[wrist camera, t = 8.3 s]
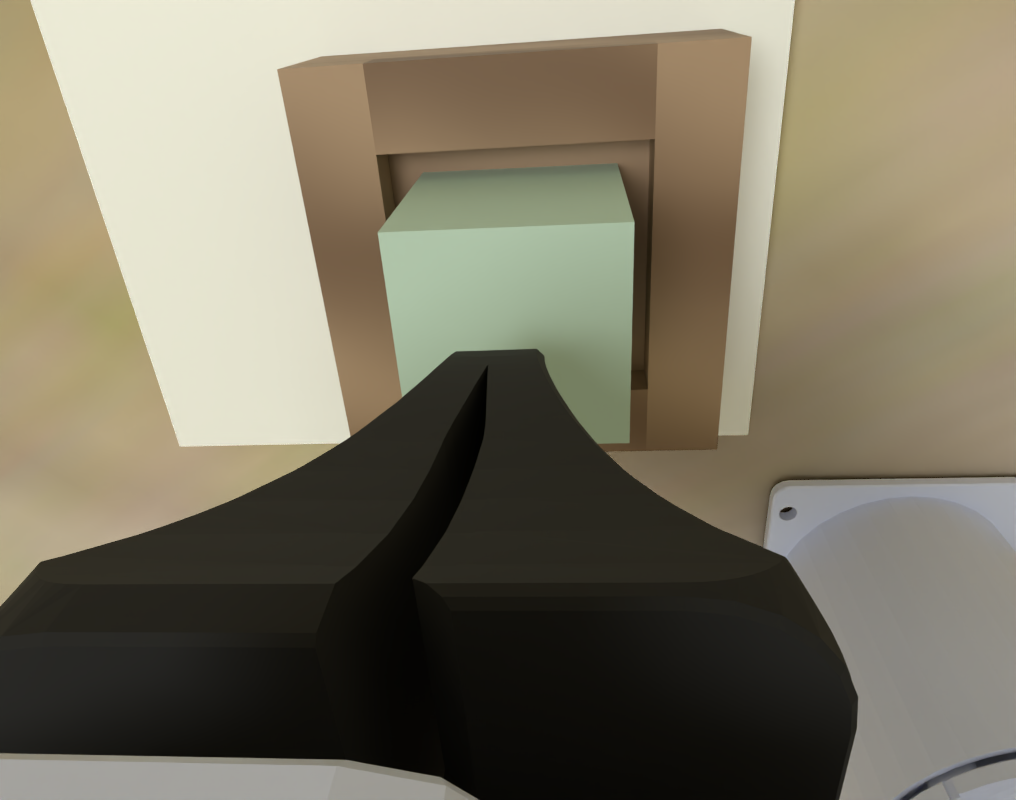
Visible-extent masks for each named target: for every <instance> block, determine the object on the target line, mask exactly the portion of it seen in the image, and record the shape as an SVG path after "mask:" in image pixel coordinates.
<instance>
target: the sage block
mask: <svg viewBox="0 0 1016 800" xmlns="http://www.w3.org/2000/svg"><path fill="white" fill-rule="evenodd" d="M634 224H635V222H634V218H633V215H632V212H631V208H630V205H629V201H628V198H627V195H626V191H625V188H624V184H623V181H622V178H621V174H620V171H619V167H618V164H617V163H610V164H589V165H568V166H547V167H526V168H505V169H484V170H464V171H443V172H423V173H422V175H421V176H420V177H419V179H418V180H417V181H416V183H415V184H414V185H413V186H412V188H411V189H410V190H409V192H408V193H407V194H406V196H405V197H404V198H403V200H402V201H401V202H400V204H399V205H398V206H397V208H396V209H395V210H394V212H393V213H392V214H391V215H390V217H389V218H388V219H387V221H386V222H385V223H384V225H383V226H382V227H381V229H380V230H379V231H378V238H379V245H380V252H381V259H382V265H383V272H384V279H385V286H386V292H387V299H388V306H389V312H390V319H391V326H392V333H393V339H394V346H395V353H396V359H397V366H398V373H399V380H400V386H401V393H402V397H403V396H404V395H406V394H407V393H408V392H409V391H410V390H411V389H413V388H414V387H415V386H416V385H417V384H418V383H419V382H421V381H422V380H423V379H424V378H425V377H426V376H427V375H429V374H430V373H431V372H432V371H433V370H434V369H435V368H436V367H437V366H439V365H440V364H441V363H442V362H443V361H444V360H445V359H446V358H448V357H449V356H450V355H451V354H453V353H454V352H455V351H483V350H515V349H538V350H539V351H540V352H541V353H542V354H543V355H544V356H545V364H546V367H547V370H548V372H549V375H550V377H551V379H552V381H553V383H554V385H555V386H556V388H557V390H558V392H559V393H560V395H561V396H562V398H563V400H564V401H565V403H566V404H567V406H568V407H569V409H570V410H571V412H572V413H573V415H574V416H575V417H576V419H577V420H578V421H579V423H580V424H581V425H582V426H583V427H584V429H585V430H586V431H587V432H588V434H589V435H590V436H591V437H592V438H593V440H594V441H595V442H596V443H597V444H608V443H629V441H630V397H631V354H632V311H633V267H634Z"/></svg>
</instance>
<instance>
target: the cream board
mask: <svg viewBox="0 0 1016 800" xmlns="http://www.w3.org/2000/svg"><path fill="white" fill-rule="evenodd" d="M31 3H32V6H33V9H34V12H35V15H36V18H37V21H38V24H39V27H40V30H41V33H42V36H43V39H44V42H45V45H46V48H47V51H48V54H49V57H50V60H51V63H52V66H53V69H54V72H55V75H56V78H57V81H58V84H59V87H60V90H61V93H62V96H63V99H64V102H65V105H66V108H67V111H68V114H69V117H70V120H71V123H72V126H73V129H74V132H75V135H76V138H77V141H78V144H79V147H80V150H81V153H82V156H83V159H84V162H85V165H86V168H87V171H88V174H89V177H90V180H91V183H92V186H93V189H94V192H95V195H96V198H97V200H98V203H99V206H100V209H101V212H102V215H103V218H104V221H105V224H106V227H107V230H108V233H109V236H110V239H111V242H112V245H113V248H114V251H115V254H116V257H117V260H118V263H119V266H120V269H121V272H122V275H123V278H124V281H125V284H126V287H127V290H128V293H129V296H130V299H131V302H132V305H133V308H134V311H135V314H136V317H137V320H138V323H139V326H140V329H141V332H142V335H143V338H144V341H145V344H146V347H147V350H148V353H149V356H150V359H151V362H152V365H153V368H154V371H155V374H156V377H157V380H158V383H159V386H160V389H161V392H162V395H163V398H164V400H165V403H166V406H167V409H168V412H169V415H170V418H171V421H172V424H173V427H174V430H175V433H176V436H177V439H178V442H179V445H180V447H181V446H230V445H279V444H329V443H342V442H343V441H345V440H346V439H348V438H349V437H351V436H350V431H349V426H348V421H347V416H346V411H345V406H344V401H343V396H342V391H341V387H340V382H339V377H338V372H337V367H336V362H335V357H334V352H333V347H332V342H331V337H330V332H329V327H328V322H327V317H326V312H325V307H324V302H323V297H322V292H321V287H320V282H319V277H318V272H317V267H316V262H315V257H314V252H313V247H312V242H311V237H310V232H309V227H308V222H307V217H306V212H305V207H304V202H303V197H302V192H301V187H300V182H299V177H298V172H297V167H296V162H295V157H294V152H293V147H292V142H291V137H290V132H289V127H288V122H287V117H286V112H285V107H284V102H283V97H282V92H281V87H280V82H279V77H278V72H277V69H280V68H283V67H287V66H290V65H294V64H297V63H300V62H304V61H307V60H311V59H314V58H318V57H321V56H334V55H349V54H363V53H378V52H392V51H406V50H421V49H435V48H450V47H464V46H478V45H493V44H507V43H522V42H536V41H550V40H565V39H579V38H594V37H608V36H622V35H637V34H651V33H666V32H680V31H694V30H709V29H725V30H728V31H732V32H736V33H739V34H743V35H747V36H750V37H752V41H751V53H750V65H749V77H748V89H747V101H746V112H745V124H744V136H743V148H742V160H741V172H740V184H739V195H738V207H737V219H736V231H735V243H734V255H733V266H732V278H731V290H730V302H729V314H728V326H727V337H726V349H725V361H724V373H723V385H722V397H721V408H720V420H719V432H718V436H723V435H748V432H749V422H750V413H751V404H752V394H753V385H754V376H755V366H756V357H757V348H758V339H759V329H760V320H761V311H762V301H763V292H764V283H765V274H766V264H767V255H768V246H769V236H770V227H771V218H772V208H773V199H774V190H775V181H776V171H777V162H778V153H779V143H780V134H781V125H782V116H783V106H784V97H785V88H786V78H787V69H788V60H789V51H790V41H791V32H792V23H793V13H794V4H795V0H31Z"/></svg>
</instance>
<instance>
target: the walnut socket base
mask: <svg viewBox="0 0 1016 800" xmlns="http://www.w3.org/2000/svg"><path fill="white" fill-rule="evenodd" d="M751 41H752V37H750V36H747V35H743V34H739V33H736V32H732V31H728V30H725V29H709V30H694V31H680V32H666V33H651V34H637V35H622V36H608V37H594V38H579V39H565V40H550V41H536V42H522V43H507V44H493V45H478V46H464V47H450V48H435V49H421V50H406V51H392V52H378V53H363V54H349V55H334V56H321V57H318V58H314V59H311V60H307V61H304V62H300V63H297V64H294V65H290V66H287V67H283V68H280V69H277V72H278V77H279V82H280V87H281V92H282V97H283V102H284V107H285V112H286V117H287V122H288V127H289V132H290V137H291V142H292V147H293V152H294V157H295V162H296V167H297V172H298V177H299V182H300V187H301V192H302V197H303V202H304V207H305V212H306V217H307V222H308V227H309V232H310V237H311V242H312V247H313V252H314V257H315V262H316V267H317V272H318V277H319V282H320V287H321V292H322V297H323V302H324V307H325V312H326V317H327V322H328V327H329V332H330V337H331V342H332V347H333V352H334V357H335V362H336V367H337V372H338V377H339V382H340V387H341V391H342V396H343V401H344V406H345V411H346V416H347V421H348V426H349V431H350V436H352V435H354V434H355V433H357V432H358V431H359V430H361V429H362V428H363V427H365V426H366V425H367V424H369V423H370V422H371V421H373V420H374V419H375V418H376V417H378V416H379V415H380V414H382V413H383V412H384V411H386V410H387V409H388V408H390V407H391V406H392V405H394V404H395V403H396V402H397V401H399V400H400V399H401V398H402V393H401V386H400V380H399V373H398V366H397V359H396V353H395V346H394V339H393V333H392V326H391V319H390V312H389V306H388V299H387V292H386V286H385V279H384V272H383V265H382V259H381V252H380V245H379V238H378V231H379V230H380V229H381V227H382V226H383V225H384V223H385V222H386V221H387V219H388V218H389V217H390V215H391V214H392V213H393V212H394V210H395V209H396V208H397V206H398V205H399V204H400V202H401V201H402V200H403V198H404V197H405V196H406V194H407V193H408V192H409V190H410V189H411V188H412V186H413V185H414V184H415V183H416V181H417V180H418V179H419V177H420V176H421V175H422V173H423V172H443V171H464V170H484V169H505V168H526V167H547V166H568V165H589V164H610V163H617V164H618V167H619V171H620V174H621V178H622V181H623V184H624V188H625V191H626V195H627V198H628V201H629V205H630V208H631V212H632V215H633V218H634V222H635V224H634V267H633V311H632V354H631V397H630V441H629V443H608V444H598V445H599V446H600V447H601V448H602V449H603V450H604V451H654V450H707V449H717V444H718V432H719V420H720V408H721V397H722V385H723V373H724V361H725V349H726V337H727V326H728V314H729V302H730V290H731V278H732V266H733V255H734V243H735V231H736V219H737V207H738V195H739V184H740V172H741V160H742V148H743V136H744V124H745V112H746V101H747V89H748V77H749V65H750V53H751Z"/></svg>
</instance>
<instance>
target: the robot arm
mask: <svg viewBox="0 0 1016 800" xmlns="http://www.w3.org/2000/svg"><path fill="white" fill-rule="evenodd" d="M785 507H793V508H792V509H791V510H790V511H788V512H784V513H783V512H780V511H781V510H782V509H783V508H785ZM0 800H1016V477H978V478H910V479H843V480H788V481H782V482H780V483H778V484H776V485H775V486H774V487H773V488H772V490H771V493H770V499H769V507H768V514H767V522H766V530H765V537H764V545H763V547H761V546H758V545H756V544H753V543H751V542H749V541H746V540H744V539H741V538H739V537H737V536H734V535H732V534H729V533H727V532H725V531H722V530H720V529H718V528H716V527H714V526H712V525H710V524H708V523H706V522H704V521H702V520H700V519H699V518H697V517H695V516H693V515H691V514H689V513H687V512H686V511H684V510H682V509H680V508H678V507H677V506H675V505H673V504H672V503H670V502H669V501H667V500H665V499H664V498H662V497H660V496H659V495H657V494H656V493H654V492H653V491H652V490H650V489H649V488H647V487H646V486H645V485H643V484H642V483H641V482H639V481H638V480H636V479H635V478H634V477H632V476H631V475H629V474H628V473H627V472H626V471H625V470H623V469H622V468H621V467H620V466H619V465H618V464H617V463H616V462H615V461H614V460H613V459H612V458H611V457H610V456H609V455H608V454H607V453H606V452H605V451H604V450H603V449H602V448H601V447H600V446H599V445H598V444H597V443H596V442H595V441H594V440H593V438H592V437H591V436H590V435H589V434H588V432H587V431H586V430H585V429H584V427H583V426H582V425H581V424H580V423H579V421H578V420H577V419H576V417H575V416H574V415H573V413H572V412H571V410H570V409H569V407H568V406H567V404H566V403H565V401H564V400H563V398H562V396H561V395H560V393H559V392H558V390H557V388H556V386H555V385H554V383H553V381H552V379H551V377H550V375H549V372H548V370H547V367H546V364H545V356H544V355H543V354H542V353H541V352H540V351H539V350H538V349H515V350H483V351H455V352H454V353H453V354H451V355H450V356H449V357H448V358H446V359H445V360H444V361H443V362H442V363H441V364H440V365H439V366H437V367H436V368H435V369H434V370H433V371H432V372H431V373H430V374H429V375H427V376H426V377H425V378H424V379H423V380H422V381H421V382H419V383H418V384H417V385H416V386H415V387H414V388H413V389H411V390H410V391H409V392H408V393H407V394H406V395H404V396H403V397H402V398H401V399H400V400H399V401H397V402H396V403H395V404H394V405H392V406H391V407H390V408H388V409H387V410H386V411H384V412H383V413H382V414H380V415H379V416H378V417H376V418H375V419H374V420H373V421H371V422H370V423H369V424H367V425H366V426H365V427H363V428H362V429H361V430H359V431H358V432H357V433H355V434H354V435H352V436H351V437H349V438H348V439H346V440H345V441H343V442H342V443H340V444H339V445H337V446H336V447H334V448H333V449H331V450H329V451H328V452H326V453H324V454H322V455H321V456H319V457H317V458H316V459H314V460H312V461H311V462H309V463H307V464H305V465H304V466H302V467H300V468H298V469H296V470H295V471H293V472H291V473H289V474H286V475H284V476H282V477H280V478H278V479H276V480H274V481H272V482H270V483H268V484H266V485H263V486H261V487H259V488H257V489H255V490H253V491H251V492H249V493H247V494H245V495H243V496H241V497H238V498H236V499H234V500H231V501H229V502H227V503H224V504H222V505H219V506H217V507H214V508H212V509H209V510H207V511H204V512H202V513H199V514H196V515H194V516H191V517H188V518H185V519H183V520H180V521H177V522H174V523H171V524H169V525H166V526H163V527H160V528H157V529H154V530H151V531H148V532H145V533H142V534H139V535H136V536H132V537H129V538H125V539H122V540H118V541H115V542H111V543H108V544H104V545H101V546H97V547H94V548H90V549H87V550H83V551H80V552H76V553H73V554H69V555H66V556H62V557H58V558H54V559H50V560H46V561H42V562H40V563H39V564H38V565H37V566H36V568H35V569H34V570H33V571H32V572H31V573H30V574H29V575H28V577H27V578H26V579H25V580H24V581H23V582H22V583H21V584H20V585H19V587H18V588H17V589H16V590H15V591H14V592H13V593H12V594H11V595H10V597H9V598H8V599H7V600H6V601H5V602H4V603H3V604H2V605H1V606H0Z"/></svg>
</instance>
